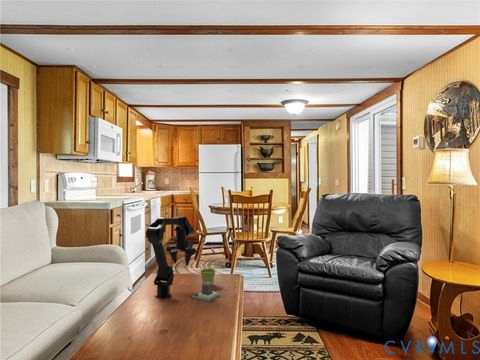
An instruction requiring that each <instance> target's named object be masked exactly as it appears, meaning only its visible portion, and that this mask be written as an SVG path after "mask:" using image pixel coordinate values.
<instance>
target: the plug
mask: <svg viewBox="0 0 480 360" xmlns="http://www.w3.org/2000/svg"><path fill="white" fill-rule="evenodd" d="M213 286H214V283H213V284H212V283H210V282H206V283H204V284H203V283H202V284H201V291H202V294H205V295H210V294H212V293H213V292H214V289H213Z"/></svg>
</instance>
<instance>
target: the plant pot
mask: <svg viewBox="0 0 480 360" xmlns="http://www.w3.org/2000/svg"><path fill="white" fill-rule="evenodd" d="M199 272H200V275H201V280H202V284H204V283H206V282H210V283H212V284H213V285H214V281H215V274H216V272H217V269H215V268H203V269H200V270H199Z"/></svg>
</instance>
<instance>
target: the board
mask: <svg viewBox="0 0 480 360" xmlns="http://www.w3.org/2000/svg"><path fill="white" fill-rule="evenodd" d="M218 297H220V293H218V292H217V291H213V293H212V294H210V295H205V294H202V290H200V291H199V292H196V293H194V294H193V295H191V298H192V299H196V300H200V301H205V302H211V301H212V300H214V299H216V298H218Z"/></svg>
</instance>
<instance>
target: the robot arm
mask: <svg viewBox="0 0 480 360" xmlns="http://www.w3.org/2000/svg"><path fill="white" fill-rule="evenodd" d="M187 217H188V216H183V215H182V216H181V215H176V216H173V217H158V218H156V220H155V221H153V222H152V223H151V224H149V226H148V227H147V229H146V230H145V237H146V240H147V241H148V242H149V243H150V244H151V245H152V248H153V252H154V257H155V260H156V263H157V267H158V268H157V270H156V275H155V279H154V281H153V284H154V286H156V287H157V289H156V290H157V291H156V295H154V297H155V298H159V299H167V298H169V297H171V296H172V295H173V294H171V286H172V285H173V284H174V277H175V275H174V273H175V271H174V270H173V269H174V267H173V265H168V261H167V256H166V253H165V250H164V249H165V248H164V245H163V240H164V234H165V233H166V226H167V225H168V226H169V225H171V226H172V225H173V226H175V228H174V229H173V231H175V239H174V242H175V244H172V245H168V246H166V252H167V253H168V254H169V256H170V257H171V259H172V261H173V263H174V264H177V260H178V255H177V254H178V253H179V252H183V253H184V255H183V256H184V260H185V265H186V266H187V267H188V266H189V264H190V261H191V259H192V256H194V255H196V254H197V248H195V247H193V246H194V242H190V241H188V240H189V239H188V238H187V237H189V236H192V235H193V234H194V233H195V229H194V227H193V226H192V224H191V223H190V222H189V219H188V218H187ZM159 226H160V227H159Z"/></svg>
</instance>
